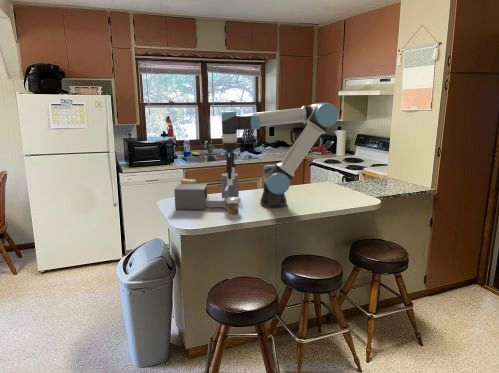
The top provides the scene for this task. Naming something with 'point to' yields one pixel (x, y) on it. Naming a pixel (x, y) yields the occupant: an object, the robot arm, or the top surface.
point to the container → (230, 186)
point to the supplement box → (188, 181)
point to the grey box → (190, 197)
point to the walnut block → (232, 208)
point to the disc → (233, 200)
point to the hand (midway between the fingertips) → (231, 182)
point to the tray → (218, 200)
